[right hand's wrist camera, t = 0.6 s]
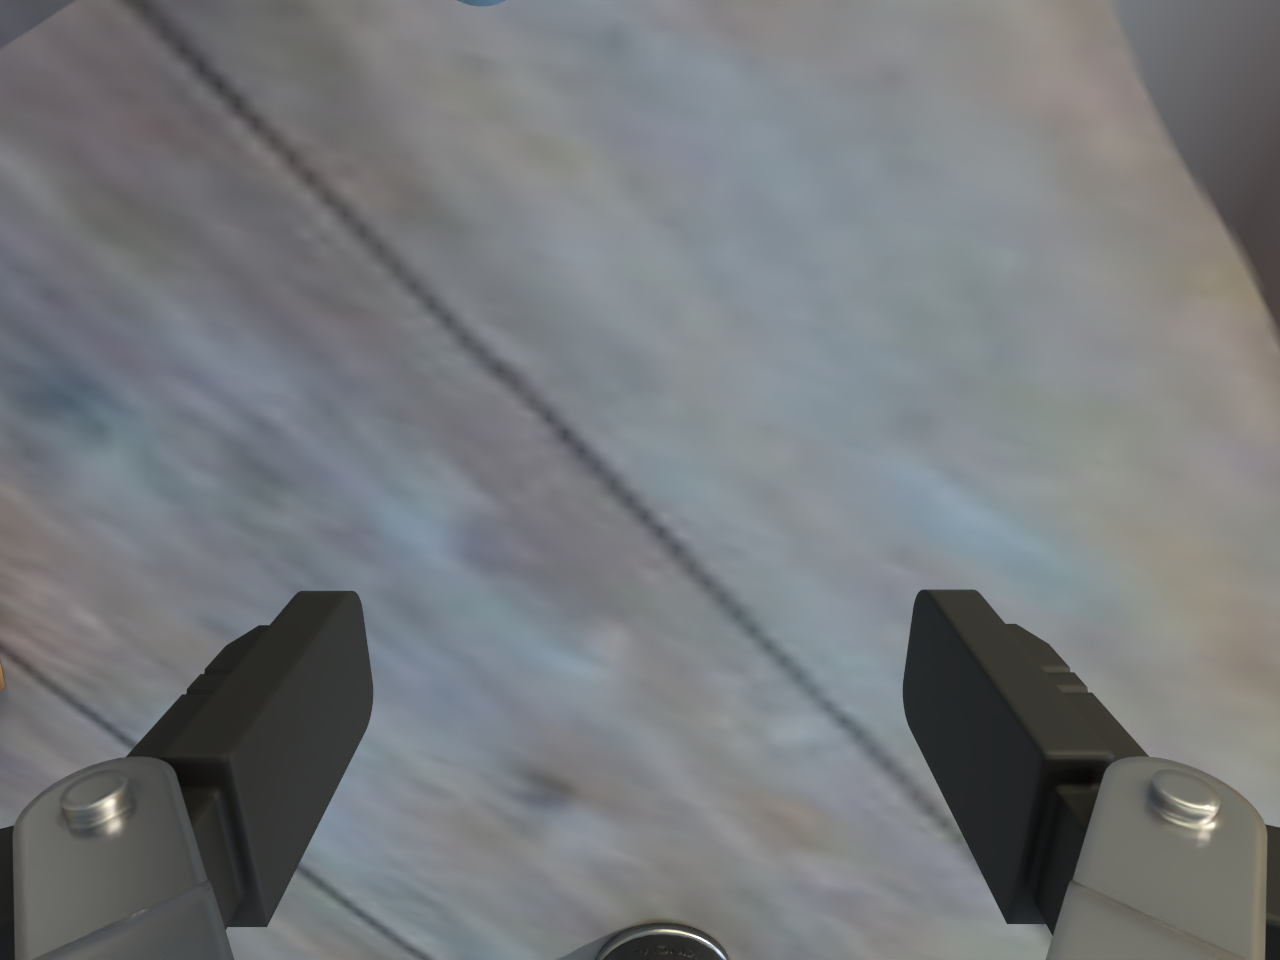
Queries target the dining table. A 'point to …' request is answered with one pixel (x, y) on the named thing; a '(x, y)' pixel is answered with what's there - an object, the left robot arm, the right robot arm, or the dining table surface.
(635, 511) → the dining table surface
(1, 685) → the cabinet
